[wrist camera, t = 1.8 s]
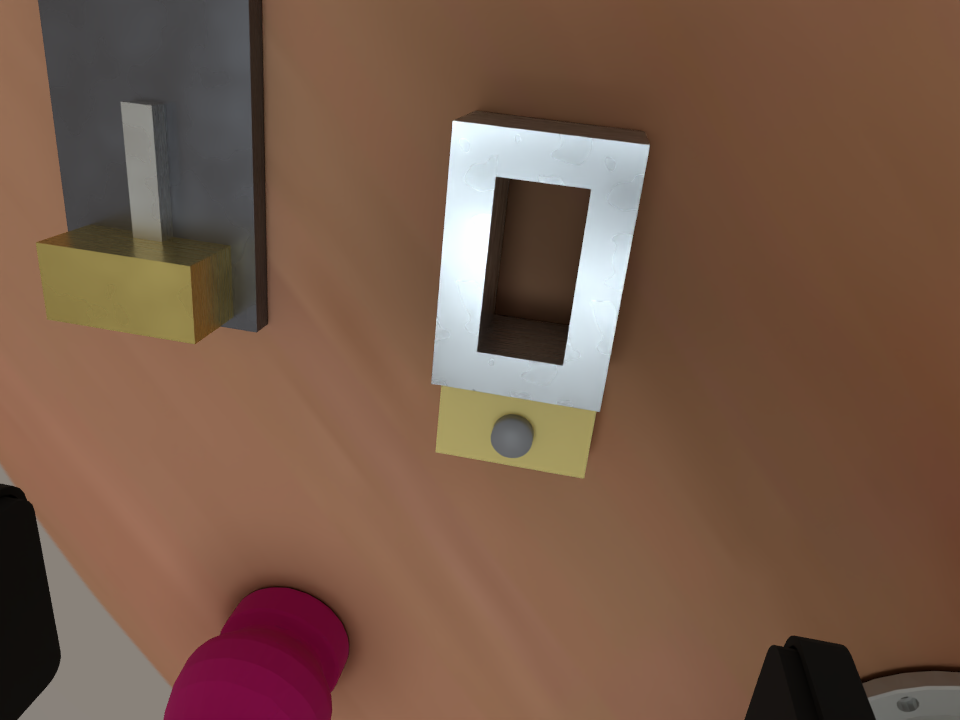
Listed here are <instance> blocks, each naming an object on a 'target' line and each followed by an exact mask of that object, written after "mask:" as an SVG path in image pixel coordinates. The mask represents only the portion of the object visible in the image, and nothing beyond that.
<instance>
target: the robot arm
mask: <svg viewBox="0 0 960 720" xmlns="http://www.w3.org/2000/svg"><path fill="white" fill-rule="evenodd" d="M60 659H61V653H60V646H59V641H58V635H57V630H56V625H55V619H54V614H53V609H52V603H51V597H50V592H49V586H48V581H47V576H46V570H45V565H44V560H43V554H42V548H41V543H40V538H39V532H38V527H37V521H36V516H35V511H34V508H33V505H32V504H31V503H30V502H29V501H27V499H26V497H25V494H24V492H23V491H22V490H21V489H20V488H17V487H14V486H10V485H5V484H0V720H17V719H18V718H19V717H20V716H21V715H22V714H23V713H24V711H25V710H26V709H27V708H28V707H29V706H30V705H31V704H32V702H33V701H34V700H35V699H36V698H37V697H38V696H39V695H40V693H41V692H42V691H43V690H44V689H45V688H46V687H47V685H48V684H49V683H50V682H51V680H52V679H53V678H54V676H55V674H56V672H57V670H58V667H59V664H60ZM745 720H960V672H945V671H924V672H911V673H901V674H896V675H892V676H887V677H882V678H877V679H873V680H871V681H868V682H865V683H862V682H861V679H860V677H859V674H858V672H857V669H856V666H855V664H854V661H853V659H852V656H851V654H850V652H849V650H848V649H847V648H846V647H845V646H844V645H841V644H835V643H830V642H825V641H820V640H814V639H809V638H804V637H799V636H790V637H789V638H788V639H787V641H786V643H785V645H784V647H782V646H776V645H772V646H771V647H770V648H769V650H768V652H767V654H766V657H765V660H764V663H763V666H762V669H761V672H760V675H759V678H758V681H757V684H756V687H755V690H754V693H753V696H752V699H751V702H750V705H749V708H748V711H747V714H746V717H745Z"/></svg>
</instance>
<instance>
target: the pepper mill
mask: <svg viewBox="0 0 960 720" xmlns="http://www.w3.org/2000/svg"><path fill="white" fill-rule="evenodd" d="M348 655H349V642H348V637H347V634H346V631H345V629H344V627H343V624H342V622H341V621H340V620H339V619H338V618H337V616H336V615H335V614H334V613H333V611H332V610H331V609H330V608H329V607H327V606H326V605H325V604H324V603H322V602H321V601H319V600H318V599H316V598H314V597H313V596H311V595H309V594H307V593H304V592H301V591H297V590H294V589H290V588H281V587H270V588H266V589H261V590H257V591H255V592H253V593H251V594H249V595H248V596H246V597H245V598H244V599H243V600H242V601H241V602H240V603H239V604H238V606H237V607H236V609H235V610H234V612H233V613H232V615H231V616H230V617H229V619H228V620H227V622H226V623H225V625H224V627H223V628H222V631H221V634H220V635H219V636H217V637H214V638H212V639H210V640H208V641H207V642H205V643H204V644H202V645H201V646H200V647H198V648H197V649H196V650H195V652H194V653H193V654H192V655H191V656H190V657H189V659H188V660H187V662H186V664H185V666H184V667H183V669H182V671H181V673H180V674H179V676H178V678H177V680H176V682H175V683H174V686H173V689H172V692H171V695H170V698H169V701H168V704H167V707H166V710H165V715H164V720H331V714H332V701H331V692H332V690H333V689H334V687H335V685H336V684H337V681H338V679H339V677H340V675H341V673H342V670H343V668H344V666H345V664H346V661H347V658H348Z"/></svg>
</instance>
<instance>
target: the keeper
mask: <svg viewBox="0 0 960 720" xmlns="http://www.w3.org/2000/svg"><path fill="white" fill-rule="evenodd" d="M38 3H39V11H40V19H41V26H42V34H43V42H44V49H45V57H46V65H47V72H48V80H49V88H50V95H51V103H52V111H53V119H54V126H55V134H56V142H57V149H58V157H59V165H60V172H61V180H62V188H63V195H64V203H65V211H66V218H67V226H68V232H66V233H63V234H60V235H57V236H54V237H51V238H48V239H45V240H42V241H39V242H36V247H37V254H38V261H39V267H40V274H41V281H42V287H43V294H44V301H45V308H46V314H47V319H48V320H54V321H60V322H66V323H72V324H78V325H84V326H90V327H96V328H102V329H108V330H114V331H120V332H126V333H131V334H137V335H143V336H149V337H155V338H161V339H167V340H173V341H179V342H185V343H191V344H196V343H197V342H199V341H200V340H202V339H203V338H205V337H206V336H207V335H209V334H210V333H212V332H213V331H215V330H216V329H217V328H219V327H220V326H221V327H227V328H233V329H239V330H245V331H252V332H258V331H259V330H261V329H262V328H263V327H264V326H266V325H267V324H268V322H267V269H266V215H265V162H264V108H263V55H262V2H261V0H38Z"/></svg>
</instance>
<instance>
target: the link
mask: <svg viewBox="0 0 960 720" xmlns="http://www.w3.org/2000/svg"><path fill="white" fill-rule="evenodd" d="M649 148H650V144H649V141H648V138H647V135H646V132H645V131H637V130H629V129H621V128H613V127H605V126H596V125H588V124H580V123H572V122H564V121H556V120H547V119H539V118H531V117H523V116H515V115H507V114H498V113H490V112H482V111H474V112H472V113H469V114H467V115H465V116H462V117H460V118H458V119H456V120H453V125H452V138H451V150H450V162H449V174H448V187H447V199H446V211H445V223H444V236H443V248H442V260H441V272H440V285H439V297H438V309H437V321H436V334H435V346H434V358H433V370H432V383H431V384H436V385H442V386H448V387H454V388H460V389H466V390H472V391H478V392H484V393H490V394H496V395H502V396H508V397H514V398H520V399H526V400H532V401H538V402H544V403H549V404H555V405H561V406H567V407H573V408H579V409H585V410H591V411H597V412H600V408H601V402H602V397H603V392H604V386H605V381H606V376H607V371H608V365H609V360H610V355H611V349H612V344H613V339H614V333H615V328H616V323H617V318H618V312H619V307H620V302H621V296H622V291H623V286H624V281H625V275H626V270H627V265H628V259H629V254H630V249H631V243H632V238H633V233H634V228H635V222H636V217H637V212H638V206H639V201H640V196H641V190H642V185H643V180H644V175H645V169H646V164H647V159H648V153H649ZM510 178H511V179H518V180H526V181H533V182H541V183H548V184H556V185H563V186H571V187H579V188H586V189H591V195H590V201H589V208H588V214H587V220H586V226H585V233H584V239H583V245H582V251H581V257H580V264H579V270H578V276H577V282H576V288H575V295H574V301H573V307H572V313H571V319H570V326H569V325H563V324H556V323H550V322H543V321H537V320H530V319H524V318H517V317H511V316H505V315H498V314H494V313H495V304H496V295H497V287H498V278H499V269H500V261H501V252H502V243H503V235H504V226H505V217H506V209H507V200H508V191H509V183H510Z"/></svg>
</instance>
